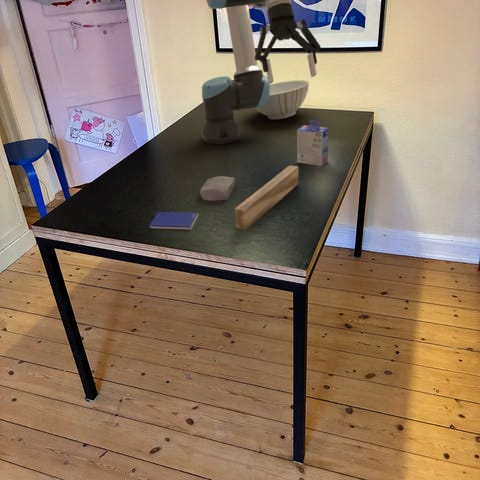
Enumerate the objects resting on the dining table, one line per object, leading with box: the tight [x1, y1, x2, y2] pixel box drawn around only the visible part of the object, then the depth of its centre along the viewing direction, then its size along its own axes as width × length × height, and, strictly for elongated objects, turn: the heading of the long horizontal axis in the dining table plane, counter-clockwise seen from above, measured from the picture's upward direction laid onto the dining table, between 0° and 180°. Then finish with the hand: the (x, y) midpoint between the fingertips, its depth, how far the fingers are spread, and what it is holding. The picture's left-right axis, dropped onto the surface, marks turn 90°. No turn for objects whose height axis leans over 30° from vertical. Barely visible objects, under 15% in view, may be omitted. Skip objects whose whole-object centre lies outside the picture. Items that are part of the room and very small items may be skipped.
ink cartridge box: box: [296, 119, 330, 167], centre depth 165 cm, size 10×6×14 cm, turn 58°
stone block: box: [199, 175, 236, 201], centre depth 153 cm, size 12×5×10 cm
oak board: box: [234, 164, 299, 231], centre depth 142 cm, size 3×32×6 cm, turn 147°
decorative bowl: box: [255, 79, 310, 120], centre depth 210 cm, size 27×27×12 cm
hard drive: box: [149, 211, 199, 230], centre depth 139 cm, size 2×8×12 cm
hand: (292, 79), depth 143 cm, fingers open, 13 cm apart
